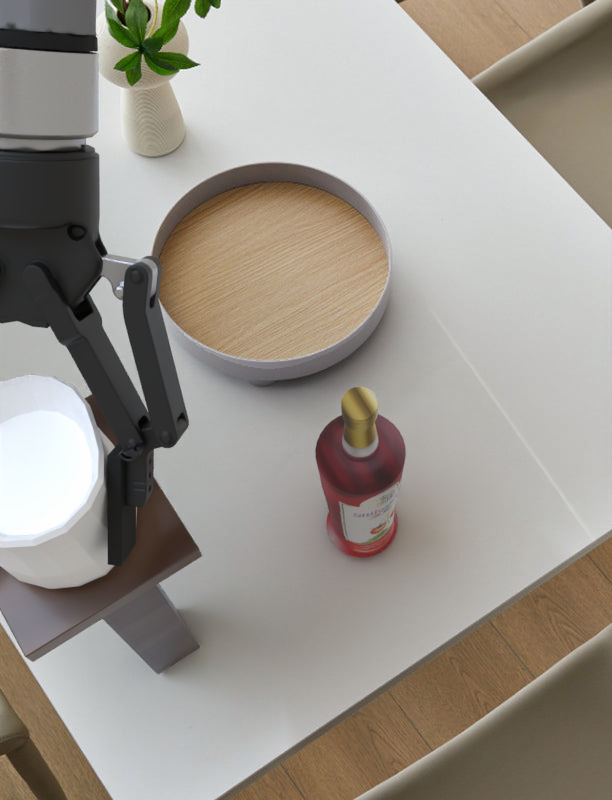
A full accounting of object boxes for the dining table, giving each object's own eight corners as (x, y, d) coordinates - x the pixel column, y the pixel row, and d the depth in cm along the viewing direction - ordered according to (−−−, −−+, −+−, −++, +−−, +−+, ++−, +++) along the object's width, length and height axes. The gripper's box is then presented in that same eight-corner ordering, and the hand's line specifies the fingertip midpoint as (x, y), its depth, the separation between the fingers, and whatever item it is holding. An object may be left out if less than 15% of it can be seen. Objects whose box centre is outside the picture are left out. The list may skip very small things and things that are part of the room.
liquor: (375, 479, 101) (377, 342, 76) (413, 540, 99) (428, 419, 73) (311, 514, 100) (291, 386, 74) (348, 577, 97) (340, 467, 72)
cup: (60, 414, 65) (11, 341, 56) (180, 500, 63) (149, 436, 54) (-49, 530, 62) (-119, 471, 53) (74, 625, 59) (22, 580, 51)
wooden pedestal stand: (78, 618, 95) (-69, 483, 63) (186, 551, 98) (98, 389, 66) (146, 738, 90) (25, 657, 59) (257, 664, 93) (199, 548, 62)
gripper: (257, 153, 53) (240, 535, 61) (-158, 111, 54) (-125, 495, 61) (226, 169, 46) (211, 599, 54) (-252, 120, 47) (-202, 553, 54)
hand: (32, 543), depth 57 cm, fingers closed on cup, 10 cm apart
